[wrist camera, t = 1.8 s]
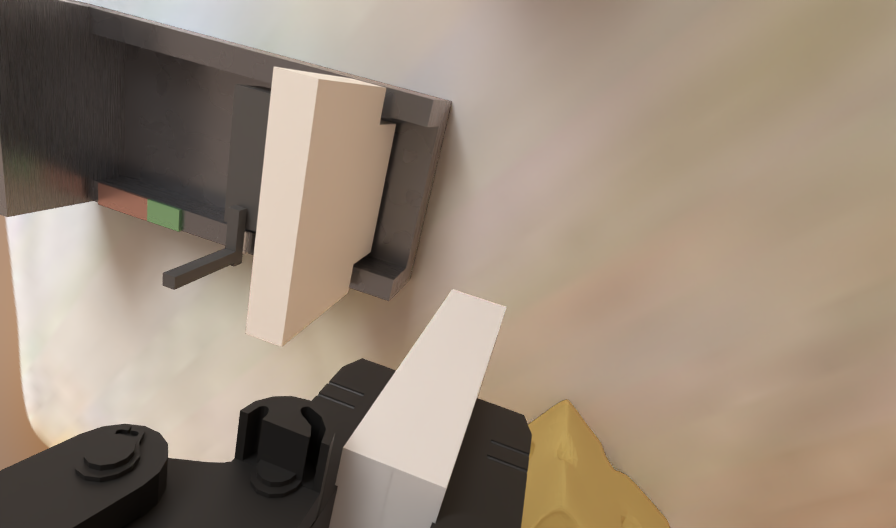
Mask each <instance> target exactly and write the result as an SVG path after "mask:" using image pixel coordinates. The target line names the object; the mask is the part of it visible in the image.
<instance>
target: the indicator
mask: <svg viewBox="0 0 896 528" xmlns="http://www.w3.org/2000/svg"><path fill="white" fill-rule="evenodd" d="M270 96H271V89H270V88H267V87H263V86H251V85H239V84H235V89H234V102H233V114H232V127H231V139H230V152H229V164H228V177H227V189H226V202H225V214H224V221H225V222H227V232H226V244H225V249H223V250H220V251H217V252H215V253H212V254H210V255H207V256H205V257H202V258H200V259H197V260H195V261H192V262H190V263H187V264H185V265H182V266H179V267H177V268H174V269H172V270H169V271H167V272H164V273H163V286H165V287H168V288H171V289H174V290H175V289H177V288H179V287H182V286H184V285H186V284H188V283H191V282H193V281H195V280H197V279H200V278H202V277H204V276H206V275H208V274H211V273H213V272H215V271H217V270H220V269H222V268H224V267H226V266H228V265H232V266H236V265H238V264H240V263H242V254H243V244H244V234H245V228H246V229H249V230H252V231H255V232H256V228H257V219H258V209H259V200H260V190H261V181H262V172H263V162H264V153H265V143H266V134H267V124H268V115H269V105H270Z"/></svg>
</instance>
